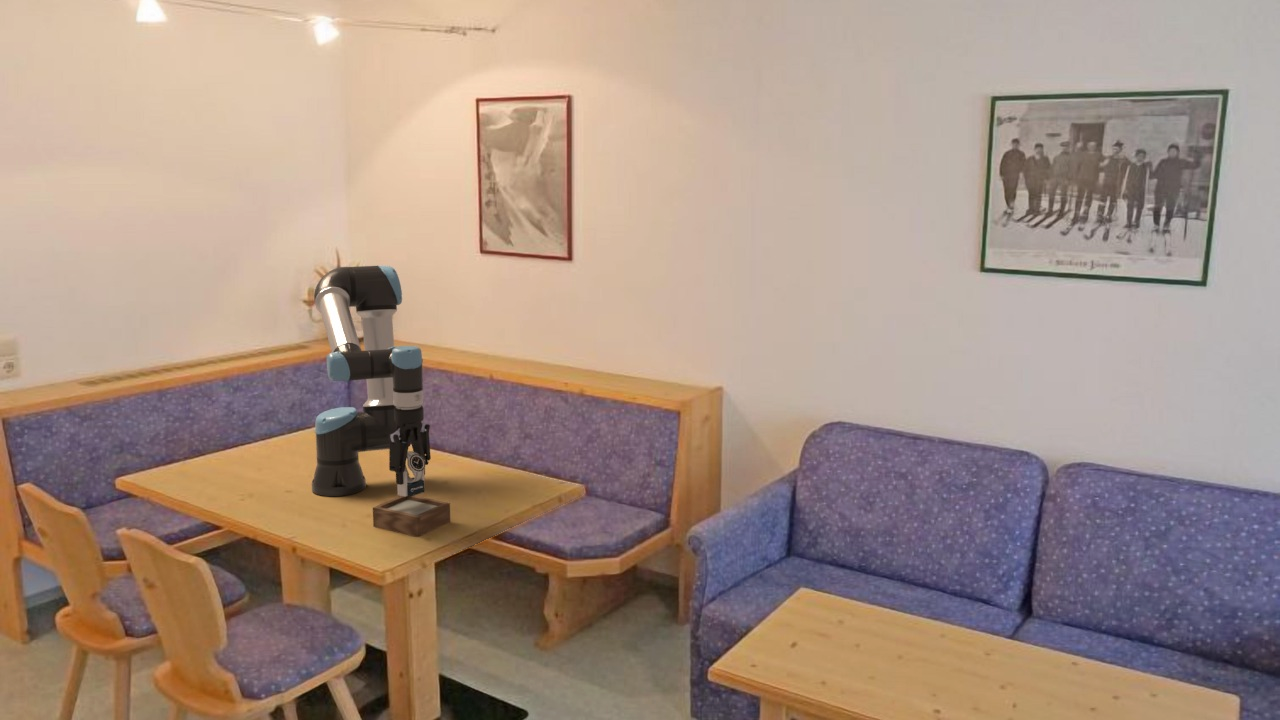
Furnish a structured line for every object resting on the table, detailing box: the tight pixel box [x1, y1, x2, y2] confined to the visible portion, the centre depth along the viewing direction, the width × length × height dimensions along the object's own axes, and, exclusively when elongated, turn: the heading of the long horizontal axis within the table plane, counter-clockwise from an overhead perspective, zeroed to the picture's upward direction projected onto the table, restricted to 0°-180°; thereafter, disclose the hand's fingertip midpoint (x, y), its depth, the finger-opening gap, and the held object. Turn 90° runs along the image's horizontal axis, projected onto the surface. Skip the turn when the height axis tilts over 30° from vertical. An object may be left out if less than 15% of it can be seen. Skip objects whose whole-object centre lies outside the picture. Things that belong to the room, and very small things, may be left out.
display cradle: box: [372, 495, 451, 538], centre depth 263 cm, size 15×13×5 cm
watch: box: [396, 450, 426, 497], centre depth 261 cm, size 6×8×11 cm
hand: (411, 491), depth 262 cm, fingers closed on watch, 6 cm apart
